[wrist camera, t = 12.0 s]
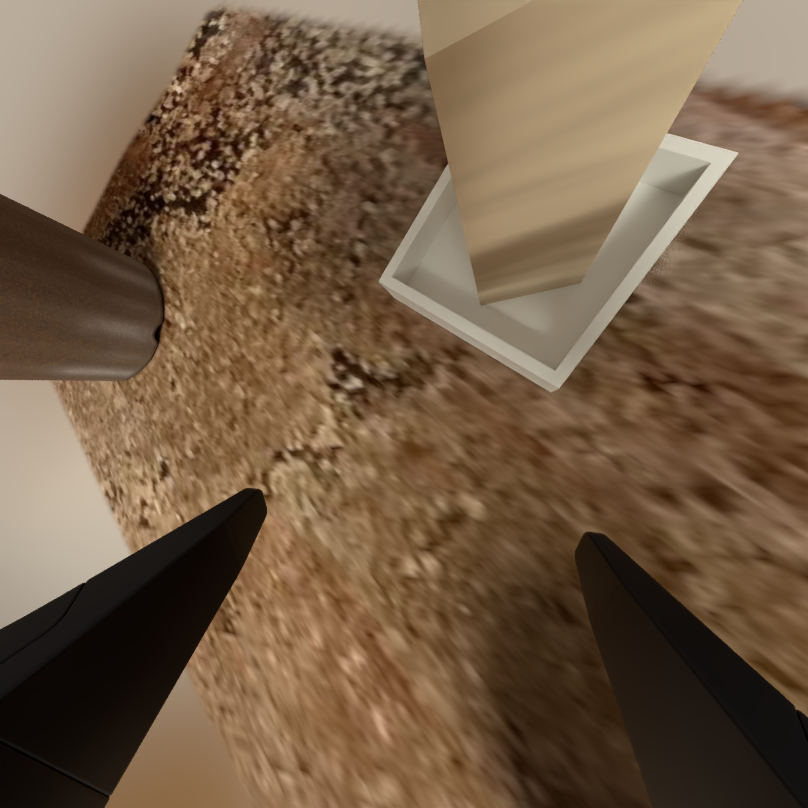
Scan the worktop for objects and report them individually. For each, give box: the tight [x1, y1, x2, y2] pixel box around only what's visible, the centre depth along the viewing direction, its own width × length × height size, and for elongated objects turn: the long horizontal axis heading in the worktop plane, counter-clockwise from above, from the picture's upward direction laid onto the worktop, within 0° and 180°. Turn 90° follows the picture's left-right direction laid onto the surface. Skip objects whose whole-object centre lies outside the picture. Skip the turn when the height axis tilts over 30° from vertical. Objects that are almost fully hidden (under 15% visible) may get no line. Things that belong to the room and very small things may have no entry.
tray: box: [378, 133, 738, 392], centre depth 15 cm, size 11×11×2 cm
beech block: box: [418, 0, 743, 306], centre depth 10 cm, size 5×5×12 cm
